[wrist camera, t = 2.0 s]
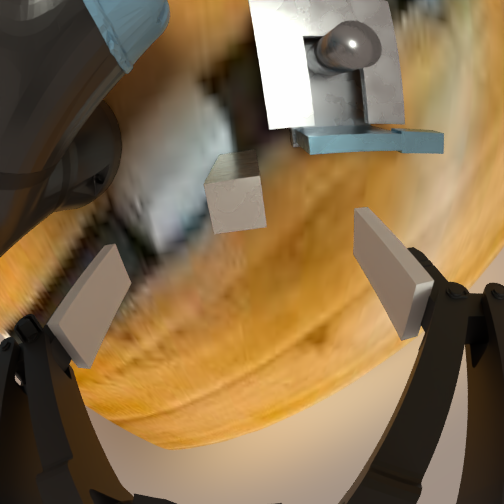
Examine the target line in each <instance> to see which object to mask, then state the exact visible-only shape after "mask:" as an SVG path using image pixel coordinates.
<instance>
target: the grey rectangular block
mask: <svg viewBox="0 0 504 504" xmlns="http://www.w3.org/2000/svg"><path fill="white" fill-rule="evenodd" d="M204 189H205V193H206V198H207V203H208V208H209V212H210V217H211V221H212V226H213V230H214V234H220V233H227V232H234V231H241V230H249V229H256V228H264V227H267V225H266V217H265V210H264V202H263V195H262V188H261V181H260V174H259V168H258V162H257V156H256V150H255V149H254V150H247V151H240V152H233V153H227V154H221V155H219V157H218V158H217V160H216V162H215V164H214V166H213V168H212V169H211V171H210V173H209V175H208V177H207V179H206V181H205V183H204Z"/></svg>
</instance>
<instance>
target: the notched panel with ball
mask: <svg viewBox="0 0 504 504" xmlns="http://www.w3.org/2000/svg"><path fill="white" fill-rule="evenodd" d="M248 3H249V9H250V14H251V20H252V25H253V31H254V37H255V43H256V49H257V55H258V61H259V67H260V73H261V80H262V86H263V93H264V100H265V107H266V114H267V121H268V128H269V130H271V129H280V128H289V129H290V138H291V145H292V146H293V147H301V148H303V149H304V150H305V151H306V152H307V153H309V154H310V155H313V154H326V153H341V152H359V151H395V150H396V151H398V152H400V153H438V154H443V151H444V133H440V132H437V131H433V130H421V129H395V128H391V131H390V130H386V129H382V128H378V127H374V126H371V124H405V117H404V101H403V89H402V79H401V71H400V63H399V56H398V49H397V43H396V38H395V32H394V27H393V22H392V18H391V13H390V9H389V5H388V1H383V0H248Z"/></svg>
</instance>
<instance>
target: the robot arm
mask: <svg viewBox="0 0 504 504" xmlns="http://www.w3.org/2000/svg"><path fill="white" fill-rule="evenodd" d="M169 19H170V8H169V4H168V1H167V0H0V257H1V256H2V255H3V254H4V253H5V252H6V251H8V250H9V249H10V248H11V247H12V246H13V245H14V244H15V243H16V242H18V241H19V240H20V239H21V238H22V237H23V236H24V235H26V234H27V233H28V232H29V231H30V230H32V229H33V228H34V227H35V226H36V225H38V224H39V223H40V222H41V221H43V220H44V219H45V218H47V217H48V216H49V215H50V214H52V213H53V212H58V211H64V210H70V209H76V208H80V207H82V206H85V205H87V204H89V203H90V202H92V201H93V200H94V199H96V198H97V197H98V196H100V195H101V194H102V193H103V192H104V191H105V190H106V189H107V188H108V187H109V185H110V184H111V182H112V181H113V179H114V177H115V175H116V172H117V170H118V167H119V163H120V158H121V134H120V129H119V126H118V122H117V120H116V117H115V115H114V113H113V112H112V110H111V109H110V107H109V106H108V105H107V104H106V103H105V102H104V101H103V98H104V97H105V96H106V95H107V94H108V93H109V91H110V90H111V89H112V88H113V87H114V86H115V85H116V83H117V82H118V81H119V80H120V79H121V78H122V77H123V76H124V75H125V74H126V73H127V74H128V73H129V72H130V71H131V70H132V69H133V64H134V63H135V62H136V61H137V60H138V59H139V58H140V56H141V55H142V54H143V53H144V52H145V51H146V50H147V49H148V48H149V47H150V45H151V44H152V43H153V42H154V41H155V40H156V39H157V38H158V37H159V36H160V35H161V34H162V33H163V32H164V31H165V29H166V27H167V25H168V23H169ZM353 254H354V256H355V258H356V259H357V261H358V263H359V264H360V266H361V268H362V269H363V271H364V273H365V275H366V276H367V278H368V280H369V281H370V283H371V285H372V287H373V289H374V290H375V292H376V294H377V296H378V297H379V299H380V301H381V303H382V305H383V307H384V308H385V310H386V312H387V314H388V316H389V318H390V320H391V322H392V323H393V325H394V327H395V329H396V331H397V333H398V335H399V337H400V339H401V341H402V340H405V339H409V338H412V337H416V336H418V333H419V330H420V327H421V326H422V328H423V329H424V331H425V335H424V337H423V340H422V343H421V345H420V348H419V352H418V355H417V358H416V361H415V364H414V366H413V369H412V371H411V374H410V376H409V379H408V381H407V384H406V386H405V389H404V391H403V393H402V396H401V398H400V400H399V403H398V405H397V407H396V409H395V411H394V413H393V415H392V417H391V420H390V421H389V424H388V426H387V427H386V429H385V431H384V433H383V435H382V437H381V439H380V441H379V442H378V444H377V446H376V448H375V449H374V452H373V453H372V455H371V456H370V458H369V460H368V462H367V463H366V465H365V466H364V468H363V469H362V471H361V473H360V474H359V476H358V477H357V479H356V480H355V482H354V483H353V485H352V486H351V488H350V489H349V490H348V491H347V493H346V494H345V495H344V497H343V498H342V499H341V501H340V502H339V503H338V504H416V503H417V501H418V499H419V497H420V495H421V491H422V486H421V482H422V479H423V476H424V474H425V472H426V470H427V468H428V465H429V463H430V461H431V458H432V456H433V454H434V451H435V449H436V446H437V444H438V441H439V438H440V436H441V433H442V430H443V427H444V424H445V421H446V418H447V415H448V412H449V409H450V405H451V402H452V399H453V395H454V391H455V387H456V383H457V379H458V375H459V370H460V365H461V361H462V355H463V350H464V345H465V349H466V362H467V378H468V420H467V437H466V448H465V458H464V465H463V472H462V478H461V484H460V489H459V494H458V498H457V503H456V504H504V286H503V285H501V284H498V283H489V284H487V285H486V287H485V289H484V292H483V294H475V293H474V294H473V293H469V292H468V290H467V289H466V288H465V287H464V286H463V285H461V284H458V283H455V282H448V281H447V280H446V279H445V277H444V276H443V275H442V274H441V273H440V272H439V271H438V269H437V268H436V267H435V266H433V264H432V263H431V261H430V260H428V258H427V257H426V256H425V255H424V254H423V253H422V252H421V251H419V250H417V249H415V248H414V247H412V248H406V247H405V246H404V245H403V244H402V243H401V241H400V240H399V239H398V238H397V237H396V236H395V235H394V234H393V233H392V232H391V231H390V230H389V228H388V227H387V226H386V225H385V224H384V223H383V222H382V221H381V220H380V219H379V218H378V217H377V216H376V215H375V214H374V213H373V212H372V211H371V210H370V209H369V208H368V207H363V208H354V249H353ZM130 285H131V281H130V279H129V276H128V274H127V272H126V269H125V267H124V265H123V262H122V260H121V257H120V255H119V252H118V250H117V247H116V244H111V245H105V246H104V247H103V248H102V249H101V251H100V252H99V253H98V254H97V256H96V257H95V258H94V259H93V261H92V262H91V263H90V264H89V266H88V267H87V268H86V270H85V271H84V272H83V273H82V275H81V276H80V277H79V279H78V280H77V281H76V283H75V284H74V285H73V287H72V288H71V290H70V291H69V292H68V294H67V295H66V297H65V298H63V300H62V301H61V302H60V304H59V305H58V306H59V307H57V308H56V310H55V312H54V313H53V314H52V316H51V317H50V319H49V320H48V322H47V323H46V325H45V326H44V328H42V327H41V325H40V324H39V322H38V321H37V319H36V317H35V316H34V315H33V314H28V315H26V316H24V317H23V318H21V319H20V320H19V321H18V322H17V324H16V325H15V328H14V331H15V332H16V334H17V335H18V336H19V338H20V339H21V341H22V342H23V343H21V344H18V343H17V342H16V340H15V339H14V338H13V337H8V338H6V339H4V340H3V341H2V342H1V344H0V504H176V503H174V502H171V501H168V500H166V499H160V498H153V497H148V496H143V495H139V494H134V497H133V496H132V495H131V494H130V493H129V492H128V491H127V490H126V489H125V488H124V487H123V486H122V485H121V483H120V482H119V480H118V478H117V476H116V474H115V473H114V471H113V469H112V467H111V465H110V463H109V461H108V459H107V457H106V455H105V453H104V451H103V448H102V446H101V444H100V442H99V440H98V437H97V435H96V433H95V430H94V428H93V426H92V424H91V421H90V418H89V416H88V413H87V410H86V408H85V405H84V402H83V399H82V397H81V394H80V391H79V388H78V384H77V381H76V378H75V375H74V371H73V369H72V367H71V366H70V365H69V364H70V361H71V359H72V360H73V361H74V363H75V364H76V365H77V366H78V368H89V369H90V368H91V366H92V363H93V361H94V359H95V357H96V354H97V352H98V350H99V348H100V345H101V343H102V341H103V339H104V337H105V335H106V333H107V330H108V328H109V326H110V324H111V322H112V320H113V318H114V316H115V314H116V312H117V310H118V308H119V306H120V304H121V302H122V300H123V298H124V296H125V294H126V293H127V291H128V289H129V287H130ZM15 375H16V376H17V378H18V379H19V380H20V381H21V385H19V384H18V383H17V382H16V381H15ZM278 504H282V503H278Z"/></svg>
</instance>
